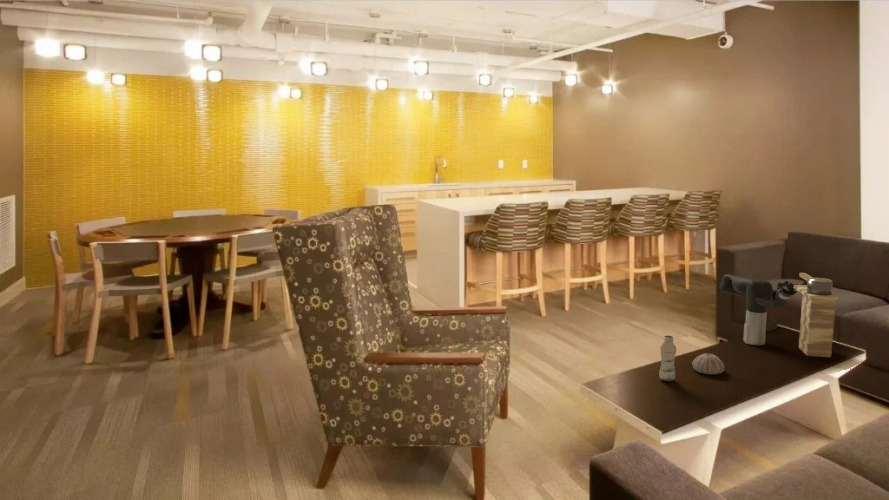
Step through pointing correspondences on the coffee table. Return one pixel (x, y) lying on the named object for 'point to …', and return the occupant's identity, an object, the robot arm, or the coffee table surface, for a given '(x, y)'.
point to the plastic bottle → (667, 359)
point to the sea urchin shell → (708, 364)
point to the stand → (816, 323)
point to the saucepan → (817, 285)
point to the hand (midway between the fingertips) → (796, 282)
